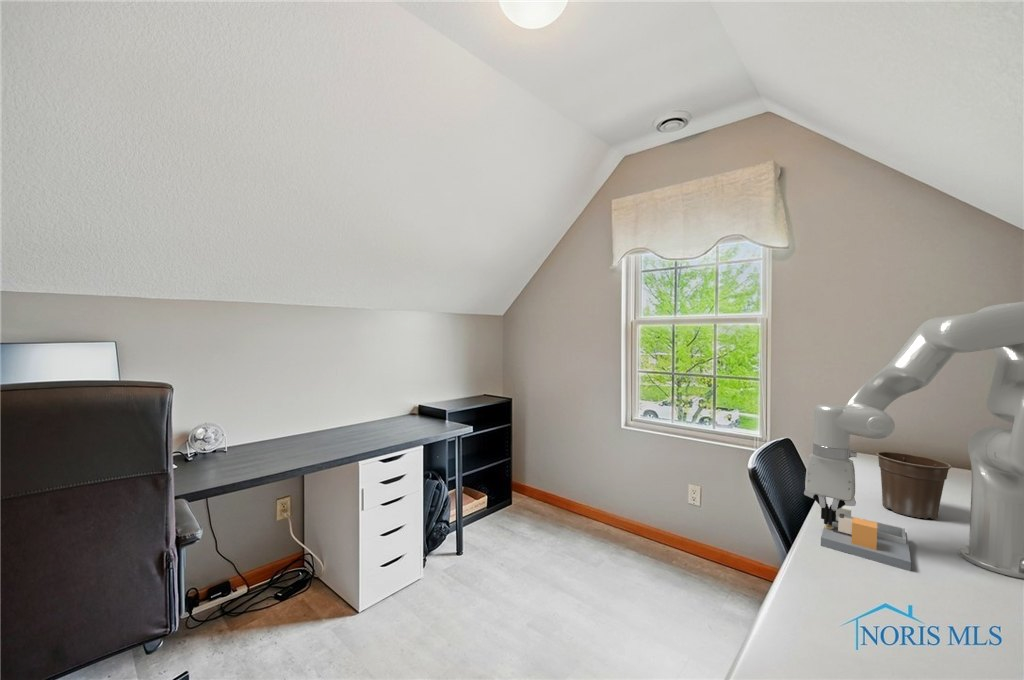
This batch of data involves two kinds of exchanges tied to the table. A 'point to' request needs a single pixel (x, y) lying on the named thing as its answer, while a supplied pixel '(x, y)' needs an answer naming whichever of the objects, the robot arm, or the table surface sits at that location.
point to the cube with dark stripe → (845, 523)
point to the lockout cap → (864, 533)
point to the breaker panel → (888, 549)
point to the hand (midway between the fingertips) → (828, 523)
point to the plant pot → (912, 483)
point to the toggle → (843, 511)
